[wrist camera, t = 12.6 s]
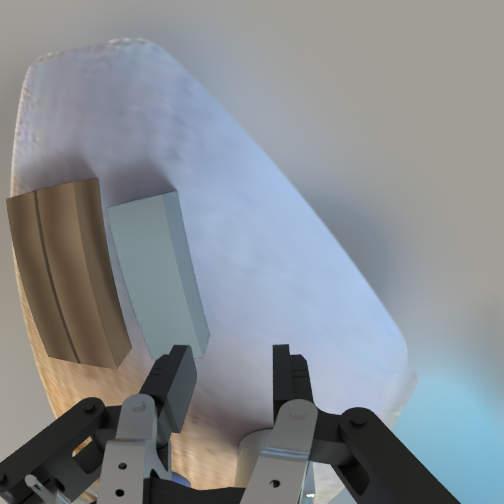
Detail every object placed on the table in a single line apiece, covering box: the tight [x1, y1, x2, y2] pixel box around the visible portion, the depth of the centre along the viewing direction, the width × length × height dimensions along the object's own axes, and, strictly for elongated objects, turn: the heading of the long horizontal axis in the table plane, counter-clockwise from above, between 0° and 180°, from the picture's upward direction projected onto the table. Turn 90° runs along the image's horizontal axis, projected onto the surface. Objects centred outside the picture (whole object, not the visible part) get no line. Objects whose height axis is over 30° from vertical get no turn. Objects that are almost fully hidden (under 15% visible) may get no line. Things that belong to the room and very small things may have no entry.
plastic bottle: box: [71, 477, 100, 504], centre depth 28 cm, size 6×7×20 cm
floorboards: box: [6, 178, 132, 369], centre depth 24 cm, size 10×18×4 cm, turn 4°
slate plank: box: [106, 191, 210, 359], centre depth 24 cm, size 5×14×4 cm, turn 9°
